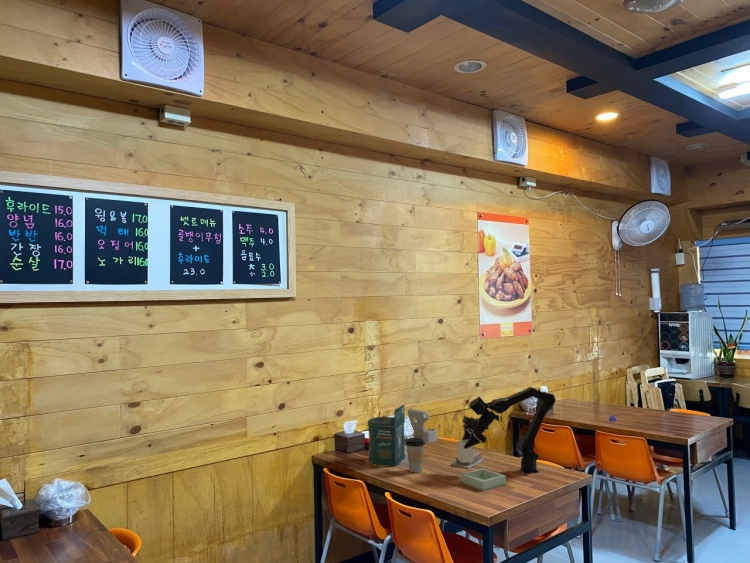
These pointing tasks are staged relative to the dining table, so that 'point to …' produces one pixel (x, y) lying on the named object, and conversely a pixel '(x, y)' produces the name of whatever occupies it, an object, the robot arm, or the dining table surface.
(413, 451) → the coffee cup
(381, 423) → the donation box
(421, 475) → the dining table surface
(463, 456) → the beige hollow square block
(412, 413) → the phone holder
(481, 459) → the packaged product
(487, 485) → the green square tray
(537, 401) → the robot arm
